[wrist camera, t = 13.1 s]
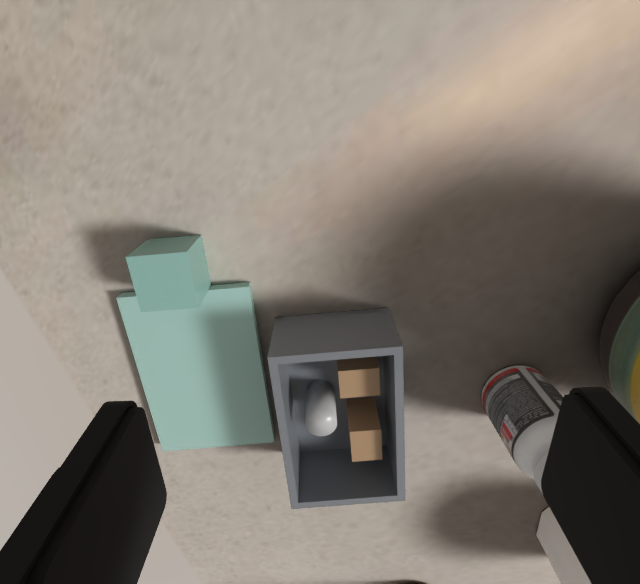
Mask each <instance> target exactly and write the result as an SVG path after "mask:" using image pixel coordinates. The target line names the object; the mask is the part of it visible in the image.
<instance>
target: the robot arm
mask: <svg viewBox="0 0 640 584" xmlns="http://www.w3.org/2000/svg"><path fill="white" fill-rule="evenodd" d="M541 489H542V493H543V496H544V498H545V500H546V502H547V503H548V505H549V507H550V509H551V511H552V513H553V514H554V516H555V518H556V520H557V522H558V524H559V525H560V527H561V529H562V531H563V533H564V534H565V536H566V538H567V540H568V542H569V544H570V545H571V547H572V549H573V551H574V553H575V555H576V556H577V558H578V560H579V562H580V564H581V565H582V567H583V569H584V571H585V573H586V575H587V576H588V578H589V580H590V582H591V584H640V424H639V423H638V422H637V421H636V420H635V419H634V417H633V416H632V415H631V414H630V413H629V412H628V411H627V410H626V409H625V408H624V407H623V406H622V405H621V404H620V403H619V402H618V401H617V400H616V399H615V398H614V396H613V395H612V394H611V393H610V392H609V391H608V390H606V389H605V388H603V387H582V388H573V389H572V390H571V391H570V393H569V395H565V396H564V397H563V399H562V403H561V406H560V410H559V414H558V418H557V422H556V425H555V429H554V433H553V437H552V440H551V444H550V448H549V452H548V456H547V459H546V463H545V467H544V471H543V475H542V478H541ZM166 497H167V494H166V488H165V484H164V480H163V477H162V473H161V469H160V465H159V462H158V458H157V454H156V451H155V447H154V443H153V440H152V436H151V432H150V429H149V425H148V421H147V418H146V414H145V411H144V409H143V408H142V407H137V405H136V403H135V402H134V401H111V402H106V403H104V404H103V405H102V407H101V408H100V410H99V411H98V413H97V414H96V415H95V417H94V418H93V420H92V421H91V423H90V424H89V426H88V427H87V429H86V430H85V432H84V433H83V435H82V436H81V438H80V439H79V441H78V442H77V443H76V445H75V446H74V448H73V450H72V451H71V452H70V454H69V455H68V457H67V458H66V460H65V461H64V463H63V464H62V466H61V467H60V468H58V469H57V470H56V472H55V473H54V474H53V475H52V476H51V478H50V479H49V481H48V482H47V484H46V485H45V487H44V488H43V490H42V491H41V493H40V494H39V495H38V497H37V498H36V500H35V501H34V503H33V504H32V506H31V507H30V509H29V510H28V511H27V513H26V514H25V516H24V517H23V519H22V520H21V522H20V523H19V525H18V526H17V528H16V529H15V530H14V532H13V534H12V535H11V536H10V538H9V539H8V541H7V542H6V544H5V545H4V546H3V548H2V549H1V551H0V584H137V582H138V579H139V577H140V574H141V571H142V568H143V566H144V563H145V560H146V557H147V555H148V552H149V549H150V546H151V543H152V541H153V538H154V536H155V532H156V530H157V527H158V525H159V522H160V519H161V516H162V514H163V511H164V508H165V505H166Z"/></svg>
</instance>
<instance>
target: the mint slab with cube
mask: <svg viewBox="0 0 640 584" xmlns="http://www.w3.org/2000/svg"><path fill="white" fill-rule="evenodd" d="M125 258H126V261H127V265H128V268H129V272H130V275H131V279H132V283H133V286H134V290H135V292H125V293H121V294H120V295H119V296H118V297H117V298H116V299H117V303H118V306H119V309H120V312H121V316H122V319H123V322H124V326H125V329H126V332H127V336H128V339H129V342H130V345H131V349H132V352H133V355H134V359H135V362H136V365H137V369H138V372H139V375H140V378H141V382H142V385H143V388H144V392H145V395H146V398H147V402H148V405H149V408H150V411H151V415H152V418H153V421H154V425H155V428H156V431H157V435H158V438H159V441H160V444H161V448H162V451H170V450H183V449H196V448H209V447H222V446H235V445H248V444H261V443H274V440H275V432H274V426H273V420H272V414H271V408H270V401H269V395H268V389H267V383H266V376H265V370H264V364H263V358H262V352H261V345H260V339H259V333H258V327H257V320H256V314H255V308H254V302H253V296H252V289H251V283H250V282H244V283H232V284H220V285H211V280H210V275H209V270H208V265H207V260H206V255H205V250H204V245H203V240H202V235H193V236H181V237H170V238H158V239H147V240H146V241H145V242H144V243H142V244H141V245H140V246H139V247H137V248H136V249H135V250H134V251H132V252H131V253H130V254H129V255H127V256H126V257H125Z"/></svg>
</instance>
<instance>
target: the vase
mask: <svg viewBox="0 0 640 584" xmlns="http://www.w3.org/2000/svg"><path fill="white" fill-rule="evenodd" d="M600 361H601V365H602V370H603V373H604V376H605V379H606V381H607V384H608V386H609V388H610V390H611V392H612V394H613V395H614V397H615V399H616V400H617V401H618V402H619V403H620V404H621V405H622V406H623V407H624V408H625V409H626V410H627V411H628V412H629V413H630V414H631V415H632V416H633V417H634V419H635V420H636V421H637V422H638V423H639V424H640V270H639V271H638V272H637V273H636V274H635V275H634V276H633V277H632V278H631V279H630V280H629V281H628V282H627V283H626V285H625V286H624V287H623V288H622V290H621V291H620V292H619V294H618V295H617V296H616V298H615V300H614V301H613V303H612V305H611V307H610V308H609V310H608V313H607V315H606V317H605V320H604V323H603V326H602V330H601V335H600Z"/></svg>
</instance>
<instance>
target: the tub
mask: <svg viewBox="0 0 640 584" xmlns="http://www.w3.org/2000/svg"><path fill="white" fill-rule="evenodd" d="M267 359H268V365H269V371H270V378H271V384H272V390H273V396H274V403H275V409H276V415H277V421H278V428H279V434H280V440H281V446H282V453H283V459H284V465H285V471H286V478H287V484H288V490H289V496H290V503H291V509H299V508H312V507H325V506H339V505H352V504H365V503H379V502H392V501H405V446H404V379H403V345H402V342H401V340H400V337H399V334H398V332H397V329H396V326H395V324H394V321H393V318H392V316H391V313H390V310H389V308H378V309H366V310H355V311H343V312H331V313H320V314H308V315H296V316H285V317H275V320H274V325H273V330H272V336H271V341H270V346H269V351H268V357H267Z"/></svg>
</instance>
